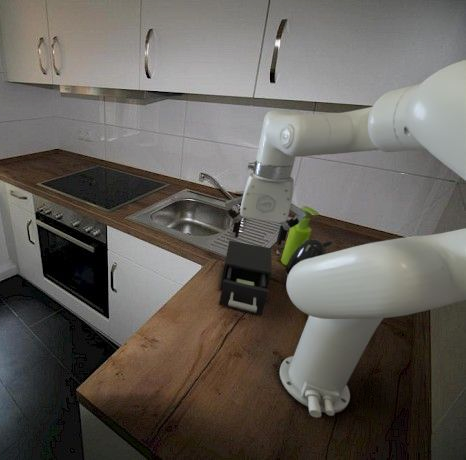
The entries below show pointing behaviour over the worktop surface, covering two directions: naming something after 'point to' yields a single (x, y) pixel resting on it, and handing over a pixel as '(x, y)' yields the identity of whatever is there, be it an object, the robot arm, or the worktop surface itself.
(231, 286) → the black drawer with handle
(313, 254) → the black rounded piece
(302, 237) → the soap dispenser
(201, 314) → the worktop surface
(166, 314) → the worktop surface
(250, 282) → the block
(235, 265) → the black drawer box
